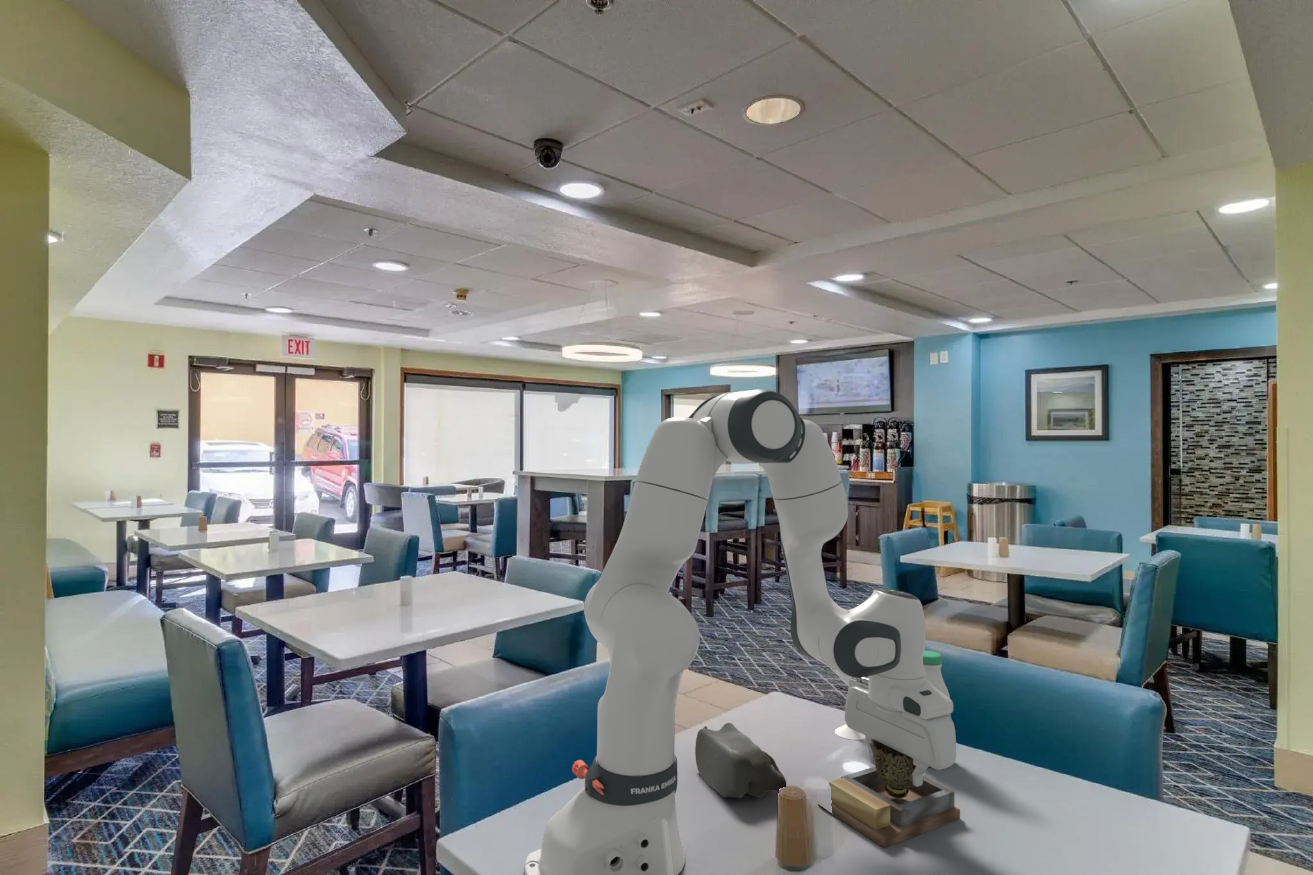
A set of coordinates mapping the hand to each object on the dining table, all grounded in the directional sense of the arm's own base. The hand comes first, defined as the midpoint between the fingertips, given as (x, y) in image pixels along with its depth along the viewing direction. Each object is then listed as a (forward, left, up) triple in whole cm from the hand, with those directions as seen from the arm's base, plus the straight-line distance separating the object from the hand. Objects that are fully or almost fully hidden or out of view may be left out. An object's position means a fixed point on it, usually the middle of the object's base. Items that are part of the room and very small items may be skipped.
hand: (895, 774), depth 114 cm
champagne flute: (+16, +26, -6) cm, 31 cm away
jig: (-2, 0, -6) cm, 6 cm away
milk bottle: (+20, +10, -6) cm, 23 cm away
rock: (-17, +20, -6) cm, 27 cm away
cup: (0, 0, -3) cm, 3 cm away
